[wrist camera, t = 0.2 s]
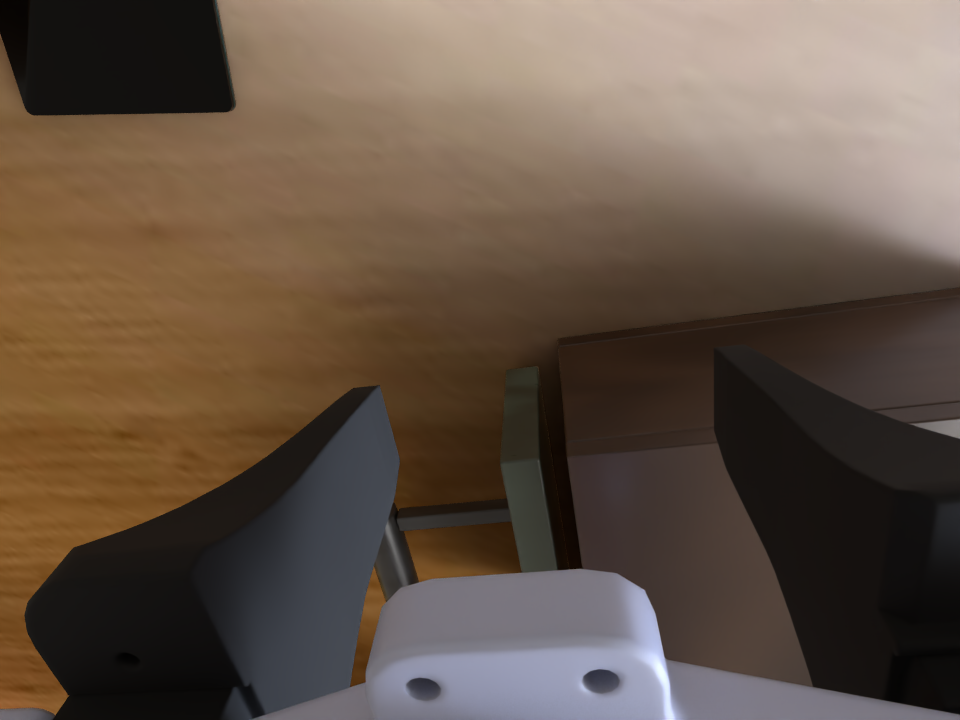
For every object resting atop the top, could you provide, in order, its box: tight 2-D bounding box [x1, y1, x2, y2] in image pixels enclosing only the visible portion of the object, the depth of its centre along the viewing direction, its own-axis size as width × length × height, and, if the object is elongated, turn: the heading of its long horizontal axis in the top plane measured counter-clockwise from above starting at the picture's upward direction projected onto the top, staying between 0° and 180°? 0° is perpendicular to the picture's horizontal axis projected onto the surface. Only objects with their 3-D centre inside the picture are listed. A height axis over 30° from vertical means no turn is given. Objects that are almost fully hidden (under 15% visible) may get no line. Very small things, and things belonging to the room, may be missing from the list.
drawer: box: [374, 366, 569, 602], centre depth 24 cm, size 20×12×6 cm, turn 100°
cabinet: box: [558, 288, 960, 687], centre depth 23 cm, size 15×13×7 cm
